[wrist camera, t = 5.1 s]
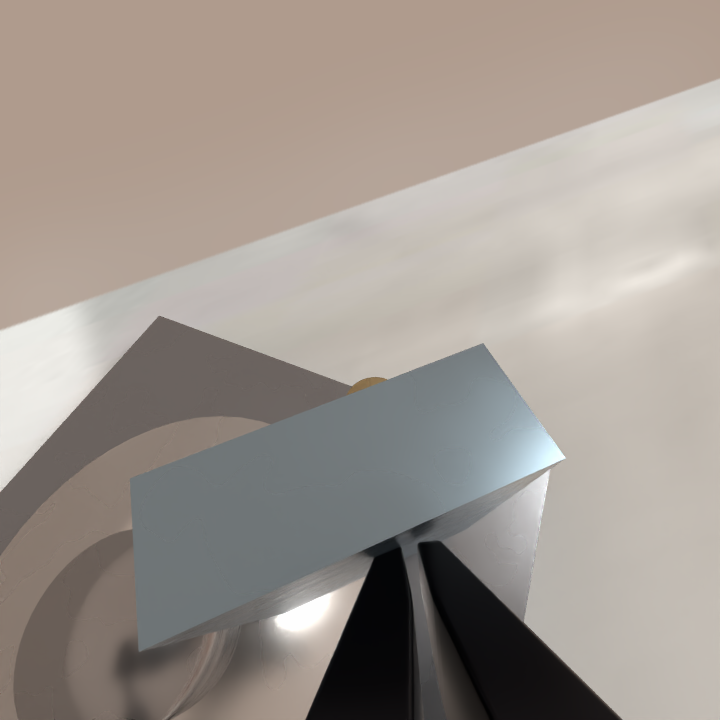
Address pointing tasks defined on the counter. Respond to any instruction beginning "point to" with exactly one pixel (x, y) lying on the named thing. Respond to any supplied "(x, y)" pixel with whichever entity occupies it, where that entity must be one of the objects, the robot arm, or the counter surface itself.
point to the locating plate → (270, 405)
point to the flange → (247, 546)
